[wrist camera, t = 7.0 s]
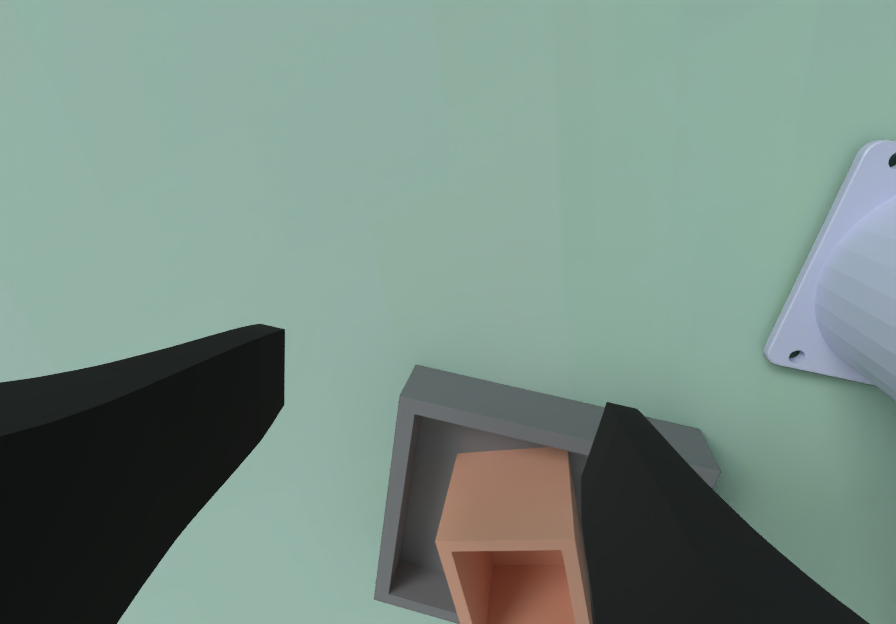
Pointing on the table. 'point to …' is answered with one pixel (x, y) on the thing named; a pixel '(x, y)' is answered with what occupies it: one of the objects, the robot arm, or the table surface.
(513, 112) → the table surface
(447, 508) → the small crate
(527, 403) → the big crate
